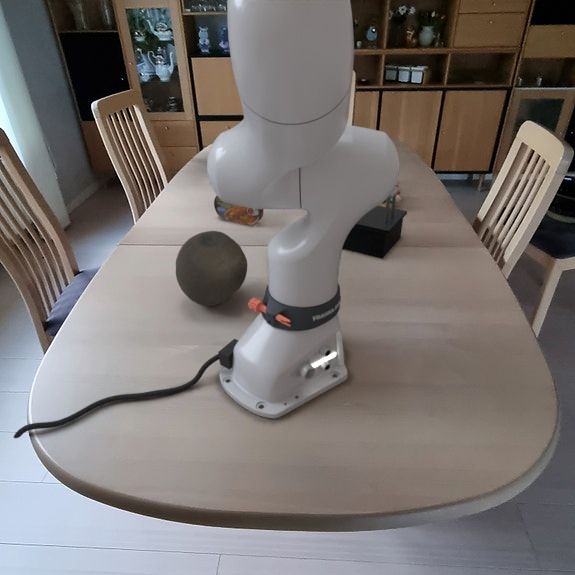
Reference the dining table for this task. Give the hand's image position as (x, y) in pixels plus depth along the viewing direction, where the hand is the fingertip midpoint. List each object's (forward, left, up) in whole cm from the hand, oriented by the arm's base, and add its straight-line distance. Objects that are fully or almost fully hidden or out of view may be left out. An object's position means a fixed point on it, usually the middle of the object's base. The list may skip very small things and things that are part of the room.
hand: (311, 3), depth 82 cm
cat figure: (+41, +7, -52) cm, 67 cm away
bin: (+13, -6, -52) cm, 54 cm away
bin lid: (+13, -6, -45) cm, 47 cm away
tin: (0, +27, -52) cm, 59 cm away
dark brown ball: (-29, +1, -52) cm, 59 cm away
